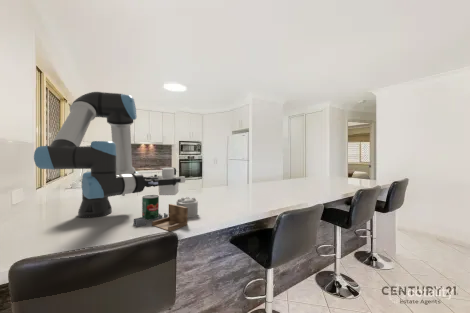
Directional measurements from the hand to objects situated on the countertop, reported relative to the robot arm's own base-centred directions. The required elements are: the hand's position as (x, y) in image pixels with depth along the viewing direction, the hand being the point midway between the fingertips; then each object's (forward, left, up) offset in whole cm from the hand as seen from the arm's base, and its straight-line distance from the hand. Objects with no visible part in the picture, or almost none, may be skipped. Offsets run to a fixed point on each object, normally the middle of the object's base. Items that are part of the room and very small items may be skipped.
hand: (176, 178), depth 101 cm
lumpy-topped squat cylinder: (-8, +14, -21) cm, 27 cm away
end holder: (0, -4, -21) cm, 22 cm away
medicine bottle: (0, -4, -7) cm, 8 cm away
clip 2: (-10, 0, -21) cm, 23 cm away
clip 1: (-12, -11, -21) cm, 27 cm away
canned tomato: (-17, -2, -21) cm, 27 cm away
